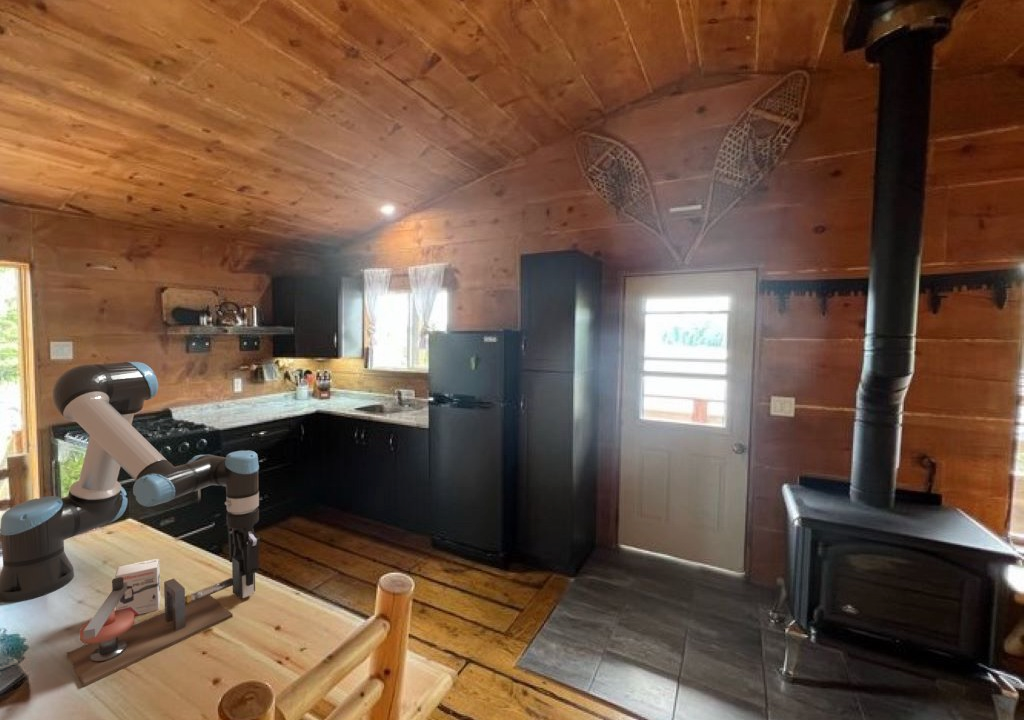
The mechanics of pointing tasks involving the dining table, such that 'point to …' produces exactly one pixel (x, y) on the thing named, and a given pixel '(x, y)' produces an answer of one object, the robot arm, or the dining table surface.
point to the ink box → (140, 587)
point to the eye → (175, 604)
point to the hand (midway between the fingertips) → (244, 591)
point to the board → (148, 639)
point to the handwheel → (108, 617)
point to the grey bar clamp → (223, 583)
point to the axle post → (108, 650)
